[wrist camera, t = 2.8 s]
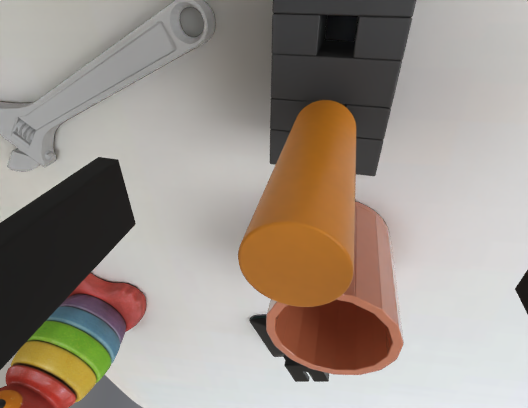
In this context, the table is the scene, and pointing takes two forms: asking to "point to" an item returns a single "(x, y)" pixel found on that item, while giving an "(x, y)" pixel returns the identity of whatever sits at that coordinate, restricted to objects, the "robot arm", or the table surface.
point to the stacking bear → (73, 346)
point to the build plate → (293, 367)
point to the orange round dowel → (307, 213)
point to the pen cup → (348, 312)
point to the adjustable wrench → (98, 82)
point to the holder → (338, 67)
